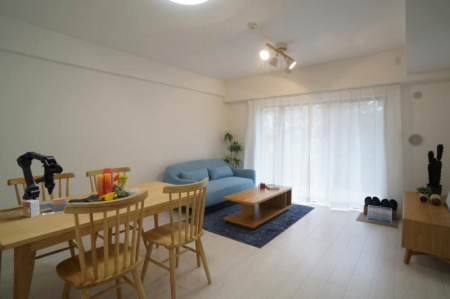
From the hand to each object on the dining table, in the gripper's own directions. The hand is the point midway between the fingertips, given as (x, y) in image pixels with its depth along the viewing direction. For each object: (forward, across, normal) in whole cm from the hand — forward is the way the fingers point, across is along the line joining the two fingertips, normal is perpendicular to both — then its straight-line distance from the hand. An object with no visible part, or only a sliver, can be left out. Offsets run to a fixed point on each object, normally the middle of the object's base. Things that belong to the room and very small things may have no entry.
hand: (49, 193), depth 172 cm
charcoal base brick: (+11, +8, +6) cm, 15 cm away
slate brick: (+12, -4, -2) cm, 13 cm away
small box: (+12, +11, -11) cm, 19 cm away
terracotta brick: (+7, +8, +5) cm, 12 cm away
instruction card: (+11, +13, -2) cm, 17 cm away
